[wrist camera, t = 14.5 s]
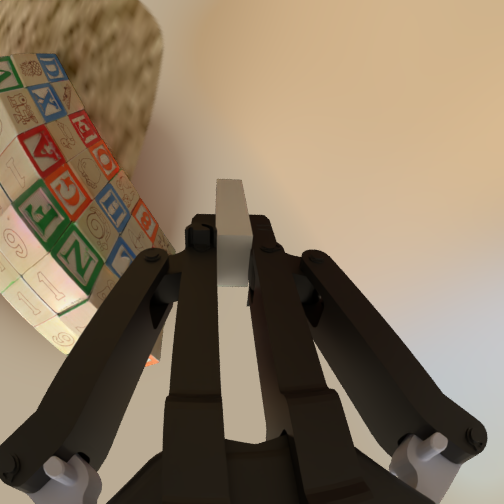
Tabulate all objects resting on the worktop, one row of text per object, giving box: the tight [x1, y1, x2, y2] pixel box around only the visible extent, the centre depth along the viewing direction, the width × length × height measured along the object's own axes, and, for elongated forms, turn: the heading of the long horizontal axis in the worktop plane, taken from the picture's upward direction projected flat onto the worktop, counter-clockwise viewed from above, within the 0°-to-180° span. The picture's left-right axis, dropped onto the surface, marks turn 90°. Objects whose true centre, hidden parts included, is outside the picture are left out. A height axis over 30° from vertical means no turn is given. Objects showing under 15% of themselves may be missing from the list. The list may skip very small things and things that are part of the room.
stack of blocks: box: [0, 53, 176, 367], centre depth 15 cm, size 21×6×12 cm, turn 24°
